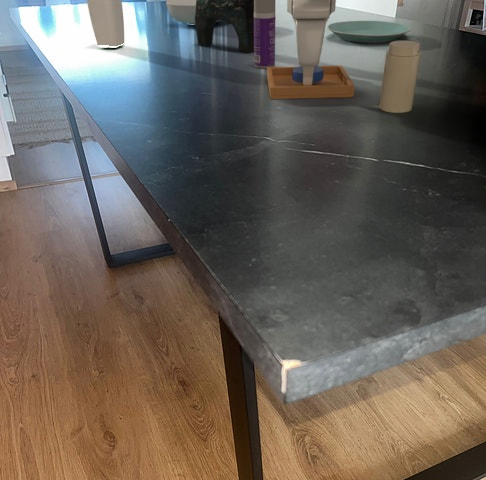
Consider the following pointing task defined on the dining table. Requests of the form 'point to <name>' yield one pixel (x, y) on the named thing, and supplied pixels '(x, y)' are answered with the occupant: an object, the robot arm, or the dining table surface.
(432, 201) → the dining table surface
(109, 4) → the cup
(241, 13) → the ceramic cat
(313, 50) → the robot arm
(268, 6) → the container
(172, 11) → the serving bowl
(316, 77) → the lid
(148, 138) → the dining table surface
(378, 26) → the plate
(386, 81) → the jar
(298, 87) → the tray
